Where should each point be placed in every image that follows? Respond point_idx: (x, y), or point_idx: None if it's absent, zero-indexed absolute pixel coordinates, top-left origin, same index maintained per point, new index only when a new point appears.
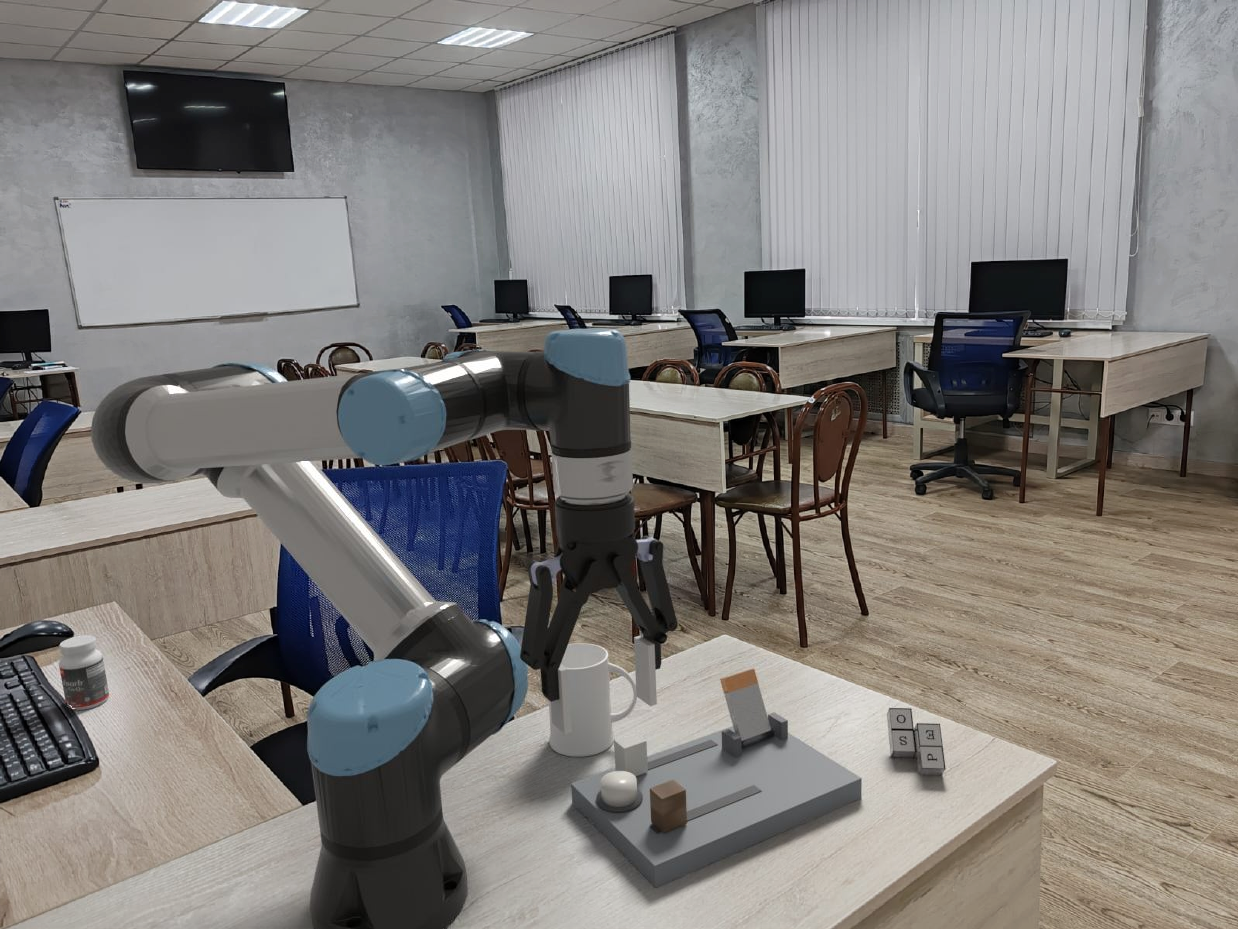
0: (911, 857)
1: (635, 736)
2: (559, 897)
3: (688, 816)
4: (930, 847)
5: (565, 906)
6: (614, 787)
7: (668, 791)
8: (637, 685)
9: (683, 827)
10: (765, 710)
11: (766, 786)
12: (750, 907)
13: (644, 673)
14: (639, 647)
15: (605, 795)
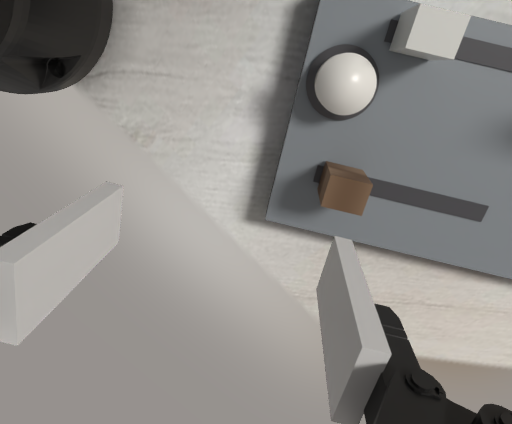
0: (474, 358)
1: (457, 28)
2: (181, 143)
3: None
4: (502, 364)
5: (178, 159)
6: (326, 95)
7: (341, 201)
8: (336, 257)
9: None
10: None
11: (495, 219)
12: (309, 290)
13: (329, 320)
14: (345, 356)
15: (315, 82)
